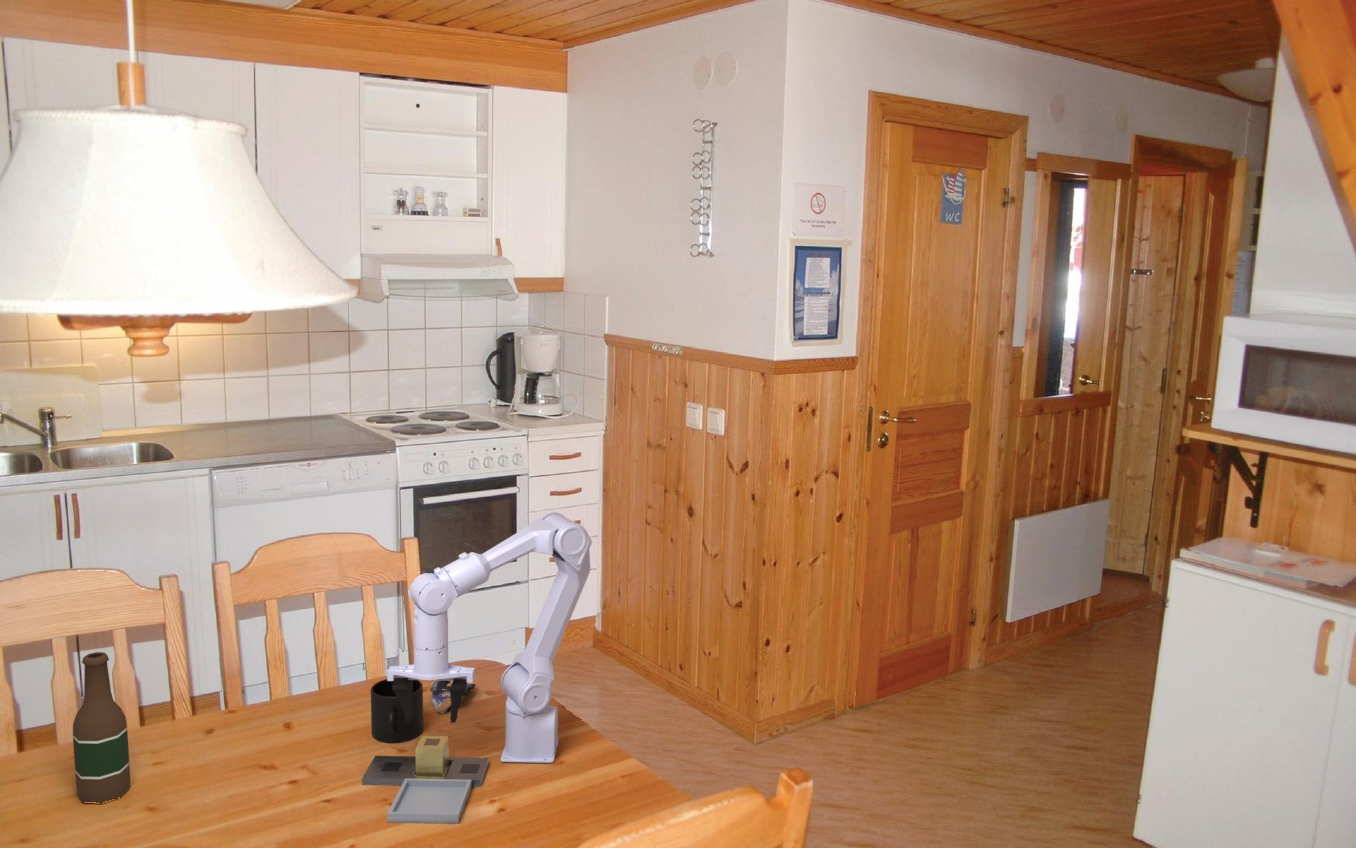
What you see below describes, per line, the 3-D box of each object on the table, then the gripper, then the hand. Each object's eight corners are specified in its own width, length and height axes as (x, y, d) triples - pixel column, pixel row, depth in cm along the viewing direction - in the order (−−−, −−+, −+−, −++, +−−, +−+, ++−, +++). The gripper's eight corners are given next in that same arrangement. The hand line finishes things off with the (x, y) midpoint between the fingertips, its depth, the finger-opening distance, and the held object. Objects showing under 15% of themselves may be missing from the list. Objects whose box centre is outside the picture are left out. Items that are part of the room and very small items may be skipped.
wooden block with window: (448, 768, 180) (448, 736, 179) (442, 781, 176) (442, 748, 175) (422, 768, 180) (421, 735, 179) (416, 781, 175) (415, 748, 174)
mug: (364, 751, 185) (363, 704, 184) (376, 721, 197) (375, 677, 196) (417, 749, 187) (417, 702, 185) (426, 720, 198) (425, 676, 197)
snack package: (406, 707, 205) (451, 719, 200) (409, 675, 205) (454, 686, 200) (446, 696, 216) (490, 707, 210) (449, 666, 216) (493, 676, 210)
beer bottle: (80, 786, 171) (70, 649, 167) (132, 778, 174) (124, 643, 170) (73, 809, 164) (63, 667, 160) (128, 801, 167) (120, 660, 163)
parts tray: (471, 788, 173) (471, 779, 173) (458, 823, 162) (458, 815, 162) (405, 786, 173) (405, 778, 173) (387, 822, 162) (387, 813, 162)
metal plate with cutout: (488, 764, 182) (488, 757, 182) (480, 787, 174) (480, 780, 174) (375, 762, 182) (375, 755, 181) (362, 784, 174) (362, 777, 173)
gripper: (478, 637, 178) (478, 710, 180) (394, 635, 178) (395, 709, 180) (470, 652, 171) (470, 728, 173) (383, 650, 171) (384, 726, 173)
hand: (431, 720), depth 176 cm, fingers open, 7 cm apart
